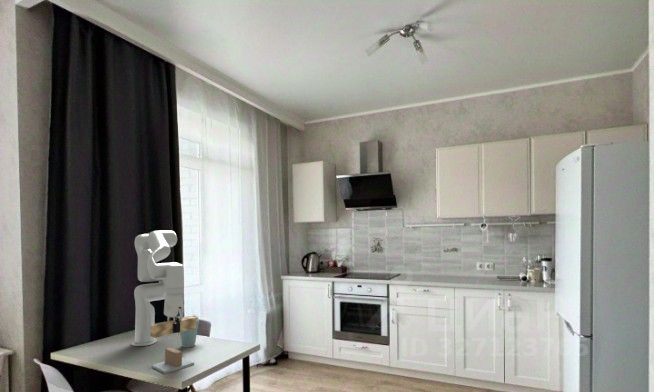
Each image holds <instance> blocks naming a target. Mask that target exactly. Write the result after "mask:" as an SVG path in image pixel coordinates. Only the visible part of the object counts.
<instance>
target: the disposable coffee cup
mask: <svg viewBox="0 0 654 392" xmlns="http://www.w3.org/2000/svg"><path fill="white" fill-rule="evenodd" d="M190 316H191V315H188V316H183V318H186V317H190ZM192 316H193V317H196V328H195V329H190V330H186V331H182V332H179V334H180V342H181V347H182V348H190V347H192V348H193V347H194V346H195V345H196V340H197V336H198V329H199V321H200V318H199V315H197V314H196V315H192Z"/></svg>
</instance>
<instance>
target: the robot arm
mask: <svg viewBox="0 0 654 392" xmlns="http://www.w3.org/2000/svg"><path fill="white" fill-rule="evenodd" d="M177 242H178V237H177V234H176V232H175V231H174V230H153V231H150V232H148V233H143V234H138V235H137V236H135V238H134V248H135V252H136V254H137V280H138V281H140V283H142V282H144V283H145V282H146V283H145V284H140V285H137V286H136V287H135V288H134V292H133V295H134V302H135V318H134V319H135V320H134V322H135V324H134V328H135V329H134V340H132V341H131V346H133V347H146V346H150V345H153V344H156V343H157V341H158V339H157V338H153V337H151V336H150V325H152V324H155V315H156V312H155V310H156V309H155V307H154V306H153V304H151V303H150V302H153V301H154V302H155V301H161V300H164V303H163V304H164V307H163V315H164V316H166V318H167V319H166V320H167V321H171V320H174V324H173V334H177V332H178V333H180V323H181V320H182V319H183V317H184V312H185V311H184V295H183V294H184V274H185V273H184V272H185V271H184V265H183V264H182V263H179V262H176V261H175V262H174V261H172V262H161V263H160V261H163V260H164V259H166V258H167V257H169V255H170V254H171V248H173V247H174V246H176V244H177ZM158 262H159V263H158ZM147 282H149V283H147ZM150 282H155V283H150ZM176 319H177V320H176Z"/></svg>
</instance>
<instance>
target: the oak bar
mask: <svg viewBox="0 0 654 392" xmlns="http://www.w3.org/2000/svg"><path fill="white" fill-rule="evenodd" d="M189 316H190V317H187V316H185V317H186V318H183V319H182V320H181V323H180V332H182V331H186V330H190V329H195V328H196V317H193V315H189ZM176 320H177V318H176ZM173 324H174V320H171V321H163V322H162V321H161V322H157V323H154V324H152V325H150V336H151V337H153V338H156V339H157V338H161V337H165V336H168V335H169V336H170V335H174V333H173ZM180 332H177V333H180ZM177 333H176V334H177Z"/></svg>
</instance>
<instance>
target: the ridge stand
mask: <svg viewBox="0 0 654 392" xmlns="http://www.w3.org/2000/svg"><path fill="white" fill-rule="evenodd" d="M164 356H165V357H164V361H162V362H157V363H155V364H154V363H153V364H152V365H151V368H152V369H154V370H157V371H159V372H160V373H162V374H165V375H166V374H169V373H172V372H175V371H179V370H181V369H185V368H189V367H191V366H195V362H194V361H193V360H190V359H187V358H186V357H183V351H182V350H178V349H177V348H173V347H167V348H165V349H164Z"/></svg>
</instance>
